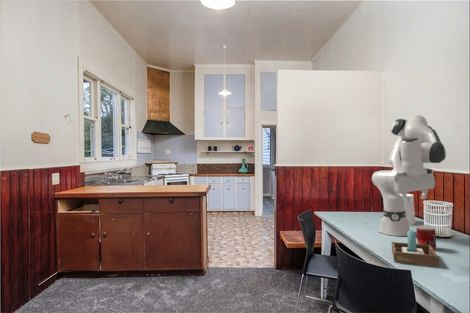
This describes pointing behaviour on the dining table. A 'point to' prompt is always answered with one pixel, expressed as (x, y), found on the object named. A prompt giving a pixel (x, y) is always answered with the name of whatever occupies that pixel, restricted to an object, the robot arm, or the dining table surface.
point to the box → (415, 255)
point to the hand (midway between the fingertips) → (415, 200)
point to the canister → (409, 209)
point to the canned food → (426, 236)
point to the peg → (411, 241)
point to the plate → (419, 251)
